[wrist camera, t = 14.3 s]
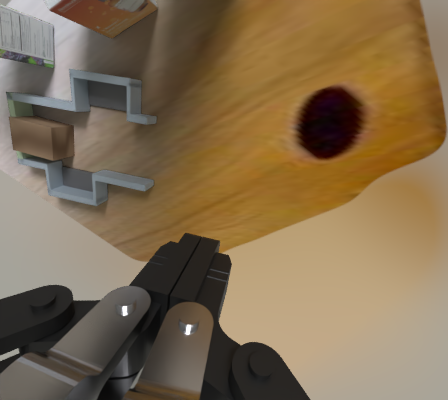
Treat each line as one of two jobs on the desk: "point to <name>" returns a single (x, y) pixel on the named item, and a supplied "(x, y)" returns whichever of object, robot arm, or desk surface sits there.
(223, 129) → the desk surface
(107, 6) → the small box
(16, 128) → the walnut block
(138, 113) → the trap channel
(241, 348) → the robot arm
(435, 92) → the desk surface
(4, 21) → the syrup box
